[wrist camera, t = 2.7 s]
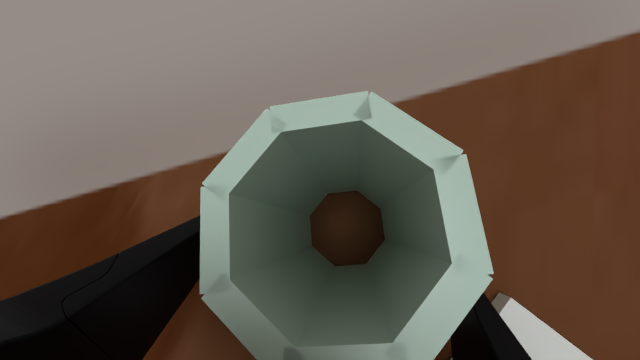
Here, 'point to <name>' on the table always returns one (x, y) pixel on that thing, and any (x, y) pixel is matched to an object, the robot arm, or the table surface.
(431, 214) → the sleeve
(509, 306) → the post board
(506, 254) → the table surface
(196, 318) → the table surface
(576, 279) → the table surface
